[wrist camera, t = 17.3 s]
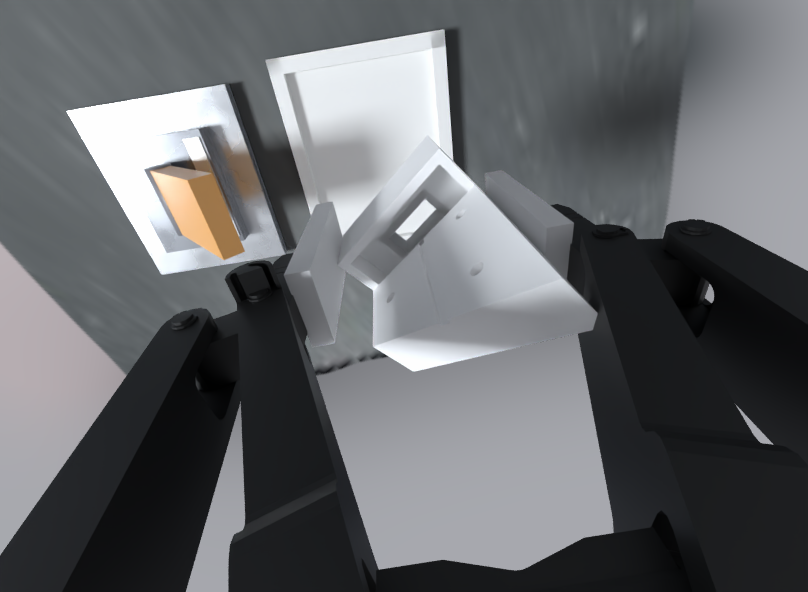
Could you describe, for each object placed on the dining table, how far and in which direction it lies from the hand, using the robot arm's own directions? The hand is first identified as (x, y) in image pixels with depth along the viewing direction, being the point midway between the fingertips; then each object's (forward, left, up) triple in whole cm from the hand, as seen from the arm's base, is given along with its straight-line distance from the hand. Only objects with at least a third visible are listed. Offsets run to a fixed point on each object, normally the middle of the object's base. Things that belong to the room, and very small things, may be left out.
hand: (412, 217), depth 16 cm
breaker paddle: (0, -18, -13) cm, 22 cm away
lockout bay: (0, -2, -17) cm, 17 cm away
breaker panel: (0, -18, -17) cm, 24 cm away
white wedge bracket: (0, 0, -1) cm, 1 cm away
